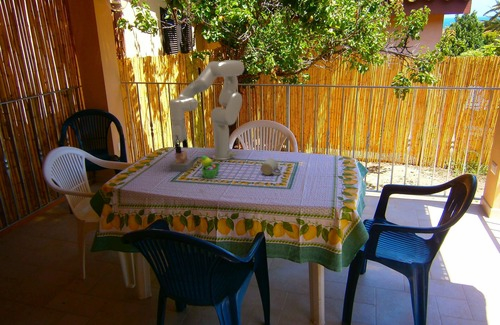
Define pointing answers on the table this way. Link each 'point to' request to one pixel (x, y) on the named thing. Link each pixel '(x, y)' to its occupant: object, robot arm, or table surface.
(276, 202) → the table surface
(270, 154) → the table surface
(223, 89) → the robot arm
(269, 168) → the ceramic mug
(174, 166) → the charcoal base
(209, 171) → the green bird basket
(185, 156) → the terracotta block
